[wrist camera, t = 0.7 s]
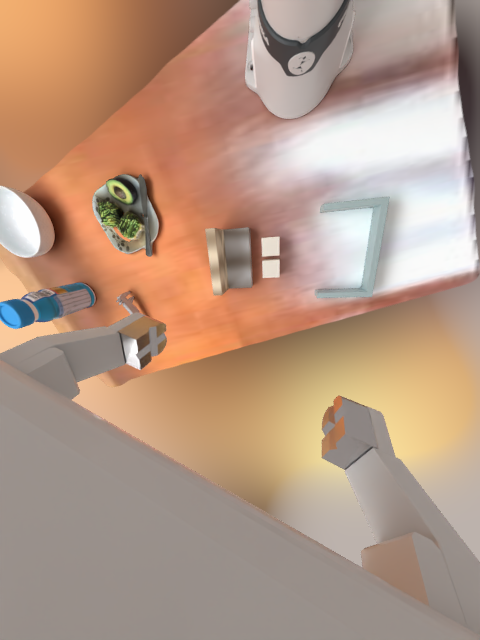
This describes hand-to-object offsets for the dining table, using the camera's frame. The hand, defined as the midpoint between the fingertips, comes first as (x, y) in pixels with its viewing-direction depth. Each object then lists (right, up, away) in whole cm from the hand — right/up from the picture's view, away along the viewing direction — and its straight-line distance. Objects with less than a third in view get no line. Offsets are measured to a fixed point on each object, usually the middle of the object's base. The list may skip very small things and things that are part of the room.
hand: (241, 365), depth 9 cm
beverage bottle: (-50, +10, +55) cm, 75 cm away
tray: (+24, +18, +37) cm, 48 cm away
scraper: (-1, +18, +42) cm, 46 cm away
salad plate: (-29, +30, +43) cm, 60 cm away
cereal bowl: (-59, +30, +48) cm, 82 cm away
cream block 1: (+8, +20, +39) cm, 45 cm away
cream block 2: (+8, +16, +41) cm, 45 cm away
